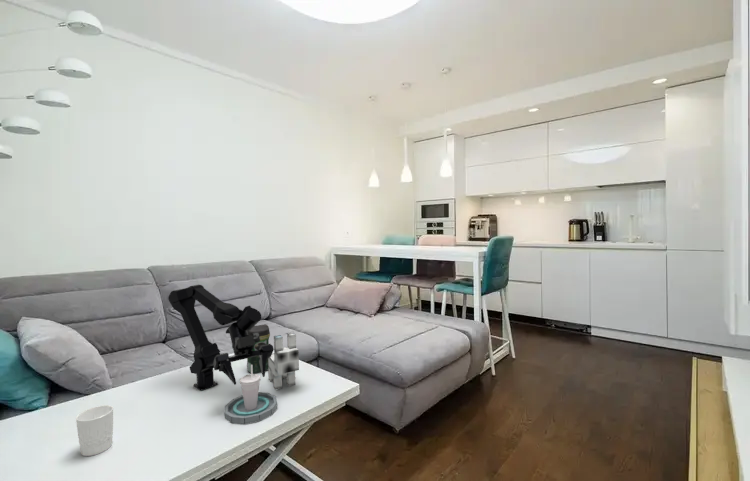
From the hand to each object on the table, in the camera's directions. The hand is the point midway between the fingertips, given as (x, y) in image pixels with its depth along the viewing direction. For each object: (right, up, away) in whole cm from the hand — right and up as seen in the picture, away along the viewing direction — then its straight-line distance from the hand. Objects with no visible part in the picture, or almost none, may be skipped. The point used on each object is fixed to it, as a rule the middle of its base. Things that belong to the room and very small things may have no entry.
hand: (249, 380), depth 114 cm
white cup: (-35, -12, -18) cm, 41 cm away
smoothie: (0, -9, 0) cm, 9 cm away
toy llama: (+6, -9, +19) cm, 22 cm away
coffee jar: (-8, -9, +33) cm, 35 cm away
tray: (0, -10, 0) cm, 10 cm away
